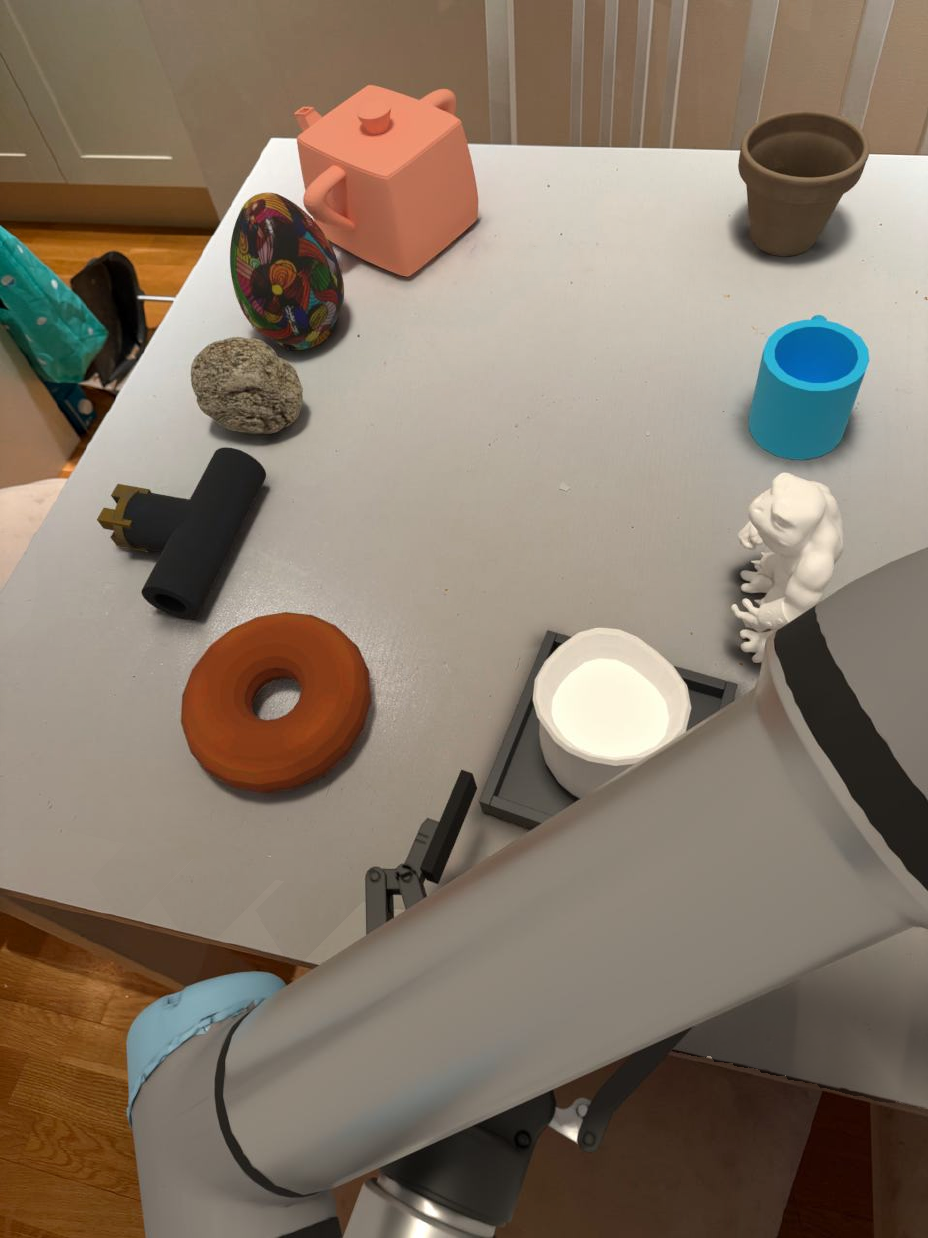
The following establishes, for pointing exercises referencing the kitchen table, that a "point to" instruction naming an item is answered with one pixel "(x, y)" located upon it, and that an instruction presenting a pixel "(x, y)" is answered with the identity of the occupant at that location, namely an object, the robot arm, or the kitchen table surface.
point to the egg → (285, 272)
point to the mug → (807, 388)
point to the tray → (520, 768)
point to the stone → (246, 386)
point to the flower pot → (798, 176)
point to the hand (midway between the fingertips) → (572, 814)
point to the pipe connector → (187, 529)
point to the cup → (606, 707)
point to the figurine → (788, 555)
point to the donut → (294, 741)
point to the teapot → (388, 176)
